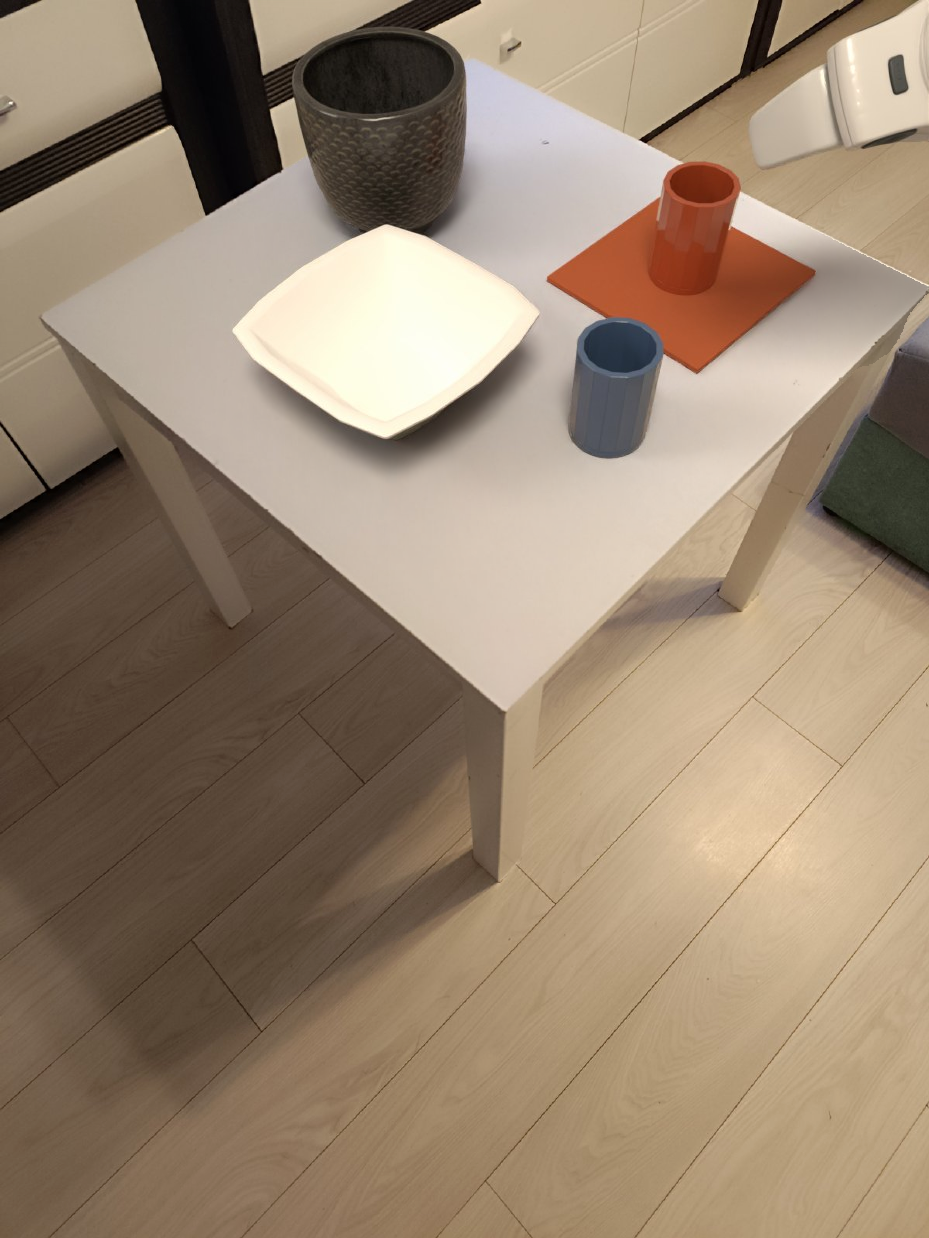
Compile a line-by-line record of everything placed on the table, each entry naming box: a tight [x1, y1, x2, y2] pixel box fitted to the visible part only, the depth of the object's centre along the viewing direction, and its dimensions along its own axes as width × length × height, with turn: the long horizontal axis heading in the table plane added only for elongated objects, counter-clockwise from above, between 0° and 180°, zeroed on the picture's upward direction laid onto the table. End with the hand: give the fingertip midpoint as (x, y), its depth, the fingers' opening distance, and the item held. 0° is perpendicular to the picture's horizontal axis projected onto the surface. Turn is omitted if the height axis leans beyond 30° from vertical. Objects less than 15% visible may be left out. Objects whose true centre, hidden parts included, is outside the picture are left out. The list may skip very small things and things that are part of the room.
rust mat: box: [546, 195, 817, 374], centre depth 91 cm, size 20×20×1 cm
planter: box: [291, 26, 468, 235], centre depth 91 cm, size 17×17×16 cm
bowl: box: [231, 225, 541, 441], centre depth 81 cm, size 22×23×8 cm
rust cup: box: [648, 160, 742, 295], centre depth 86 cm, size 7×7×10 cm
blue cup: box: [568, 317, 664, 459], centre depth 76 cm, size 7×7×10 cm
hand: (815, 138), depth 69 cm, fingers open, 8 cm apart
